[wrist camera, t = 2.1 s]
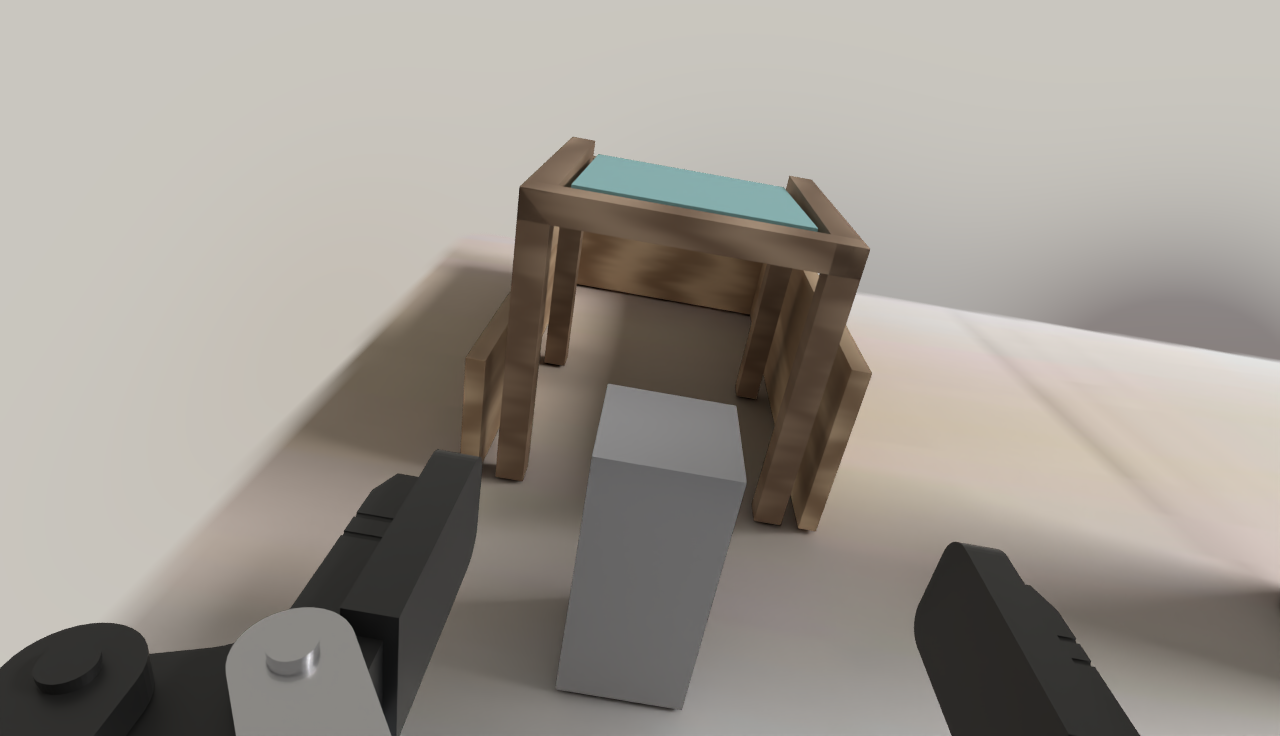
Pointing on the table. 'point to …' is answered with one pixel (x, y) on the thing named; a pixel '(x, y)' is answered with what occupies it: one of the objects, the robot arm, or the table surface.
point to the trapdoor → (693, 191)
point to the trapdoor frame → (690, 273)
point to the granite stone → (650, 545)
